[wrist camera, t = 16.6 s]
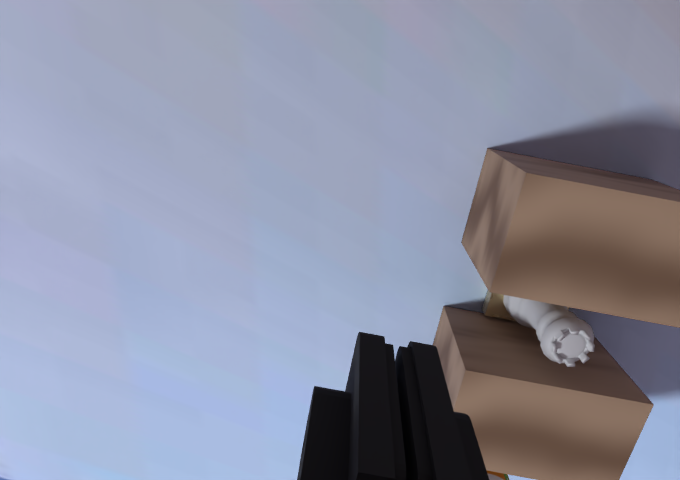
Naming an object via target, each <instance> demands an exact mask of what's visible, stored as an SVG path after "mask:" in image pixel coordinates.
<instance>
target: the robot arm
mask: <svg viewBox="0 0 680 480" xmlns="http://www.w3.org/2000/svg"><path fill="white" fill-rule="evenodd" d="M297 480H489V477H488V474H487V470H486V467H485V464H484V461H483V457H482V454H481V451H480V448H479V444H478V441H477V438H476V435H475V431H474V428H473V425H472V422H471V419H470V417H469V415H467V414H465V413H459V412H454V410H453V406H452V403H451V399H450V395H449V391H448V387H447V384H446V380H445V376H444V372H443V369H442V365H441V361H440V357H439V354H438V350H437V347H436V346H433V345H428V344H422V343H417V342H411V341H410V343H409V345H408V347H402V346H400V347H399V349H398V352H397V356H396V360H395V359H394V349H393V345H391V344H385V338H384V336H379V335H373V334H368V333H363V332H359V333H358V336H357V340H356V345H355V349H354V354H353V359H352V363H351V368H350V372H349V377H348V381H347V386H346V390H345V392H344V391H339V390H333V389H328V388H322V387H317V386H314V390H313V395H312V400H311V405H310V410H309V415H308V420H307V426H306V431H305V437H304V442H303V448H302V454H301V460H300V466H299V472H298V478H297Z"/></svg>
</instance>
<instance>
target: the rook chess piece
mask: <svg viewBox="0 0 680 480" xmlns="http://www.w3.org/2000/svg"><path fill="white" fill-rule="evenodd" d="M503 302H504V305H505V307H506V310H507V312H508V313H509V314H510V315H511V317H512V318H514V319H515V320H516V321H517V322H518V323H519V324H521V325H523V326H526V327H529V328H533V329H535V330H536V334H537V336H538V339H539V341H541V344H540V346H541V349H542V351H543V354H544V355H545V356H546V357H547V358H549V359H550V360H552V361H554V362H557V363H559V364H560V363H565V364H566V366H567V367H575V361H578V360H581V361H582V363H583V364H584V363H585V362H586V361H588V360H589V359H590V358H589V357H588V356H587V354H588V353H589V351H590V352H594V348H595V345H594V343H593V342H594V333H593V330H592V328H591V326H590V325H589V324H588V323H586V322H585V321H584V320H581V319H578V317H577V316H576V315H575V314H574V313H573V312H570V311H568V309H567V307H566V306H561V305H555V304H550V303H544V302H539V301H534V300H528V299H523V298H518V297H512V296H507V295H504V299H503Z"/></svg>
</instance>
